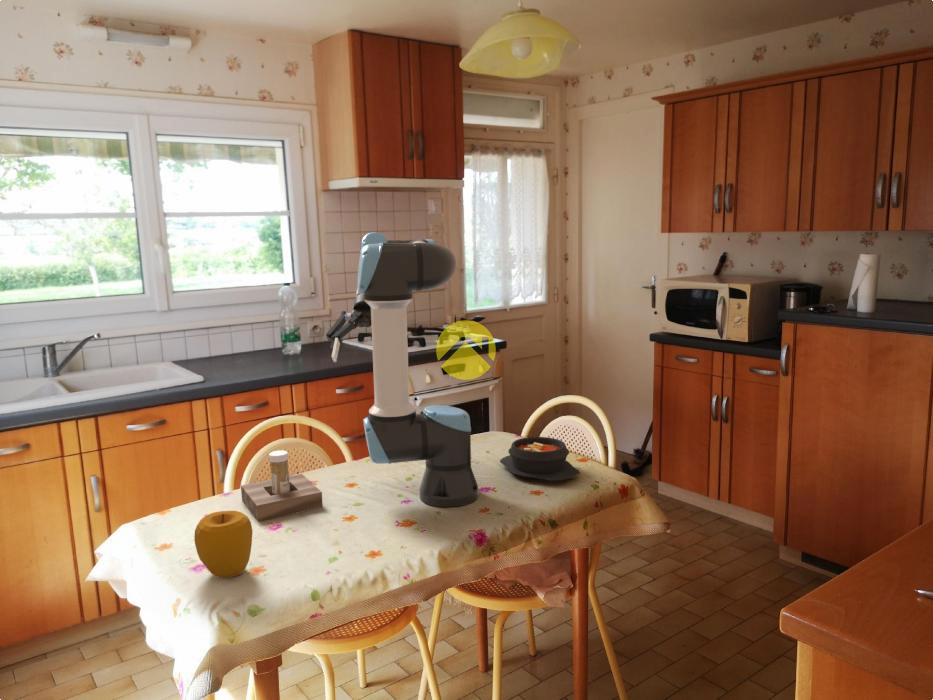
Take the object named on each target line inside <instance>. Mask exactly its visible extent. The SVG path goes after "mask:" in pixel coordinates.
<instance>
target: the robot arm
mask: <svg viewBox="0 0 933 700" xmlns="http://www.w3.org/2000/svg"><path fill="white" fill-rule="evenodd" d="M360 245H361V246H360V251H359V252H360V254H359V261H358V269H357V287H356V294H355V298H354V304H353V308H352V312H347V311H346V310H342V311H341V313H340V316H339V317H338V318H337V319H336V321H335V322H334V324H333V325H332V326H331V327H330V329H328V331H327V332H326V333H325V336H326V338H327V341H328V342H330V346H329V347H330V350H331V358H332V359H331V360H332V361H333V363H337V360H338V354H339V351H340V345H341V343H340V340H342V339H343V338H344V337H345V336H346V335H348V334H349V333H350V332H352V331H353V330H356V329H357V328H370V327H371V344H372V349H371V350H372V368H373V394H374V395H373V397H374V403H373V405H372V406H371V407H370V408H369V409H368V416H366V417H365V418H363V420H362V422H363V429H364V434H365V435H364V436H365V440H366V445H367V449H368V453H369V458H370V460H371V462H373V463H374V464H377V465H378V464H381V465H382V464H388V465H390V464H397V463H409V462H420V461H425V468H424V472H423V476H422V480H421V484H420V487H419V498H420V501H421V502H423V503H424V504H426V505H429V506H433V507H440V508H441V507H442V508H451V507H462V506H465V505H469V504H471V503H473V502H474V501H475V502H476V500H477V499H478V498H479V485H478V481H477V480H476V477H475V474H474V470H473V468H472V445H471V444H472V442H471V441H472V439H471V438H472V437H471V433H472V427H471V419H470V418H471V417H470V415H469V413H468V412H467V411H466V410H464V409H462V408H459V407H455V406H450V405H437V404H436V405H428V406H425V407H424V408H423V410H422V413H417V407H415V405H413V404H412V403H411V402H410V379H409V378H410V377H409V349H408V348H409V346H408V319H407V317H408V316H407V309H408V308H407V307H408V305H409V304H410V303H411V302H412V301H413V292H425V291H426V292H428V291H432V290H435V289H438V288H439V287H442V286H444V285H445V284H446V283H448V282H449V281H450V280H451V279H452V278H453V277H454V275H455V272H456V270H457V260H456V259H457V258H456V256H455V254H454V253H453V251H452V250H451V249H450V248H449V247H447V246H445V245H442V244H439V243H436V240H434V239H428V238H422V239H387V237H386V236H385V235H384V234H382V233H379V232H375V231H374V232H373V231H372V232H369V233H367V234H365V235H364V236H363V237H362V240H361V244H360ZM346 322H347V323H346Z"/></svg>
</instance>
